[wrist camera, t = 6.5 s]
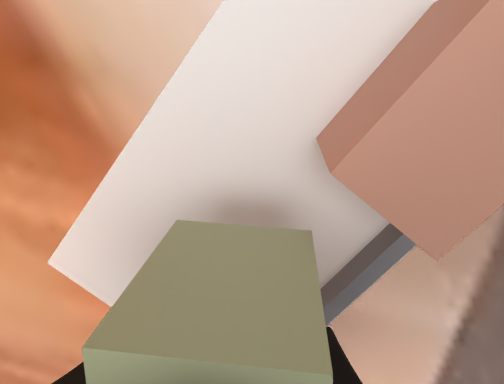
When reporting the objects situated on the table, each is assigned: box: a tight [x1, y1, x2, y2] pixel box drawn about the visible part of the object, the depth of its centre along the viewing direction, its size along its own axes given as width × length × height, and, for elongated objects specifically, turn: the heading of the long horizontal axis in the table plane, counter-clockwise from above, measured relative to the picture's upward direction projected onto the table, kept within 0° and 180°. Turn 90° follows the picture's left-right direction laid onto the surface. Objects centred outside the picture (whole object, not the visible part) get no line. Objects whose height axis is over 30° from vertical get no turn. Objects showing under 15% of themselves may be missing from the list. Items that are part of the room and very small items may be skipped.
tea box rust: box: [316, 0, 504, 261], centre depth 13 cm, size 5×7×6 cm
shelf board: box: [47, 0, 438, 326], centre depth 17 cm, size 13×22×2 cm, turn 142°
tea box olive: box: [82, 220, 333, 384], centre depth 10 cm, size 5×7×6 cm
